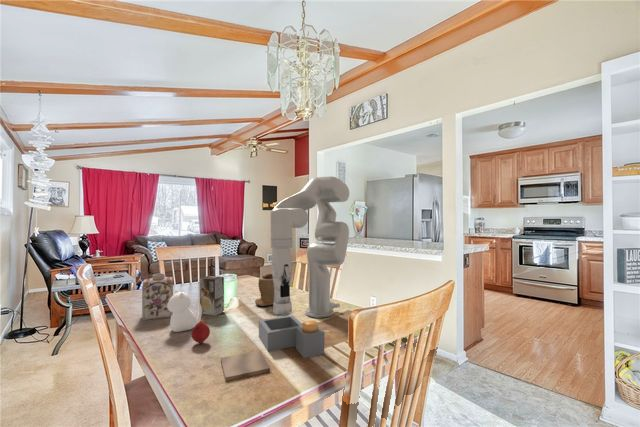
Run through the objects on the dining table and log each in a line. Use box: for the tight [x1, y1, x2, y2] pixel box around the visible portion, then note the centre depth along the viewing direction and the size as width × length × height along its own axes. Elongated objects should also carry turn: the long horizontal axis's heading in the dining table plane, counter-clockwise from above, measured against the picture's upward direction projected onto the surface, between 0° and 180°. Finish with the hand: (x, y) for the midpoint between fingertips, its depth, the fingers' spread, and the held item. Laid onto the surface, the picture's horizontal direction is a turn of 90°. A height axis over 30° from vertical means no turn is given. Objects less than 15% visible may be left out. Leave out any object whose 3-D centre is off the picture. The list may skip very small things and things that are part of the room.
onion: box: [191, 319, 211, 345], centre depth 102 cm, size 6×6×8 cm
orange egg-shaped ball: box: [301, 319, 319, 332], centre depth 96 cm, size 5×5×6 cm
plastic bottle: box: [272, 271, 293, 317], centre depth 105 cm, size 6×7×20 cm
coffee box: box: [199, 275, 225, 317], centre depth 135 cm, size 9×6×16 cm
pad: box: [220, 350, 271, 382], centre depth 87 cm, size 12×12×1 cm
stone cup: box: [254, 273, 274, 307], centre depth 148 cm, size 15×12×15 cm
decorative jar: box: [141, 272, 174, 321], centre depth 132 cm, size 12×12×18 cm
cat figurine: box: [167, 289, 203, 333], centre depth 116 cm, size 9×12×15 cm
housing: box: [258, 314, 325, 359], centre depth 101 cm, size 16×22×7 cm
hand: (282, 293), depth 105 cm, fingers closed on plastic bottle, 6 cm apart
